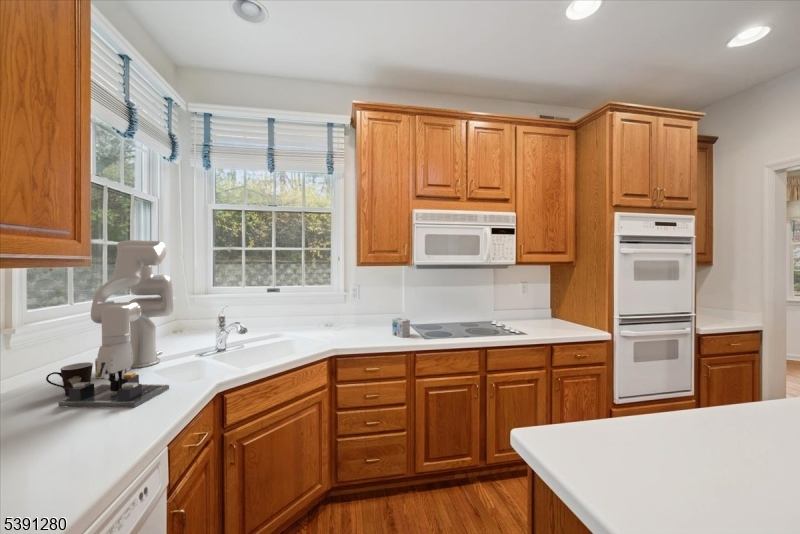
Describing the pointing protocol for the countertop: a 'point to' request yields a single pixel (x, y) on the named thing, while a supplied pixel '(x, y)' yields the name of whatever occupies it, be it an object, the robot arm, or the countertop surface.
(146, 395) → the panel
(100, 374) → the supplement bottle
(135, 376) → the block
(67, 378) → the coffee mug
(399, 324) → the light bulb box
